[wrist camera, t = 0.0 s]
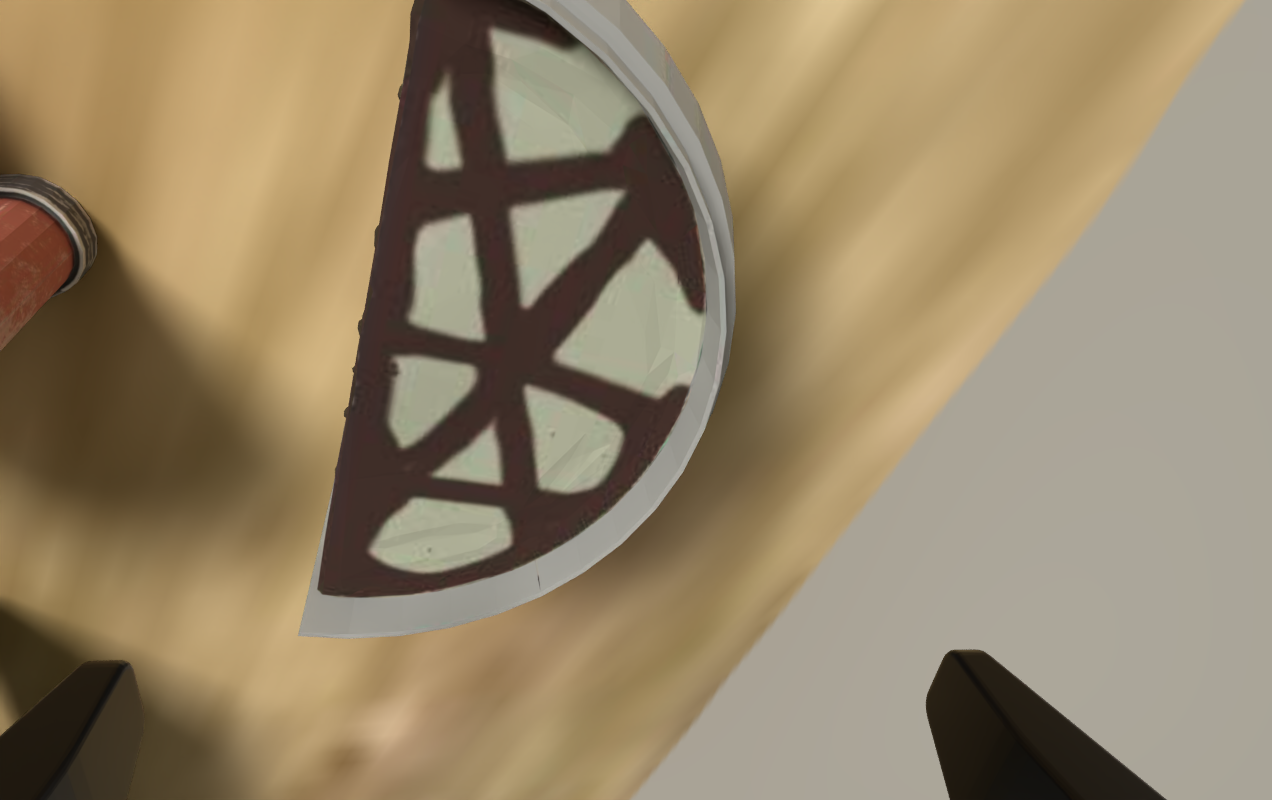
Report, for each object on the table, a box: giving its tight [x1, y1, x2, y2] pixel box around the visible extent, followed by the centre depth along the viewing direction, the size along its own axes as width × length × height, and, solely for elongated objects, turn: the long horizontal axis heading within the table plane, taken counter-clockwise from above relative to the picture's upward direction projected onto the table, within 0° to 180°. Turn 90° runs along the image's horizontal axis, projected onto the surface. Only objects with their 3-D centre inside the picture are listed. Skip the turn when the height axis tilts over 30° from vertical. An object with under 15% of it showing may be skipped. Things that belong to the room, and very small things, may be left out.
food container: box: [298, 0, 736, 639], centre depth 18 cm, size 12×6×10 cm, turn 163°
